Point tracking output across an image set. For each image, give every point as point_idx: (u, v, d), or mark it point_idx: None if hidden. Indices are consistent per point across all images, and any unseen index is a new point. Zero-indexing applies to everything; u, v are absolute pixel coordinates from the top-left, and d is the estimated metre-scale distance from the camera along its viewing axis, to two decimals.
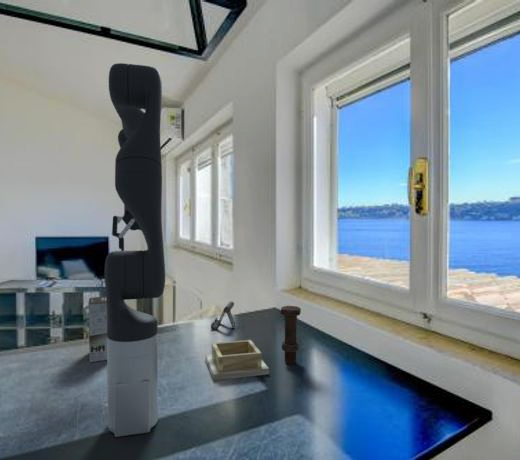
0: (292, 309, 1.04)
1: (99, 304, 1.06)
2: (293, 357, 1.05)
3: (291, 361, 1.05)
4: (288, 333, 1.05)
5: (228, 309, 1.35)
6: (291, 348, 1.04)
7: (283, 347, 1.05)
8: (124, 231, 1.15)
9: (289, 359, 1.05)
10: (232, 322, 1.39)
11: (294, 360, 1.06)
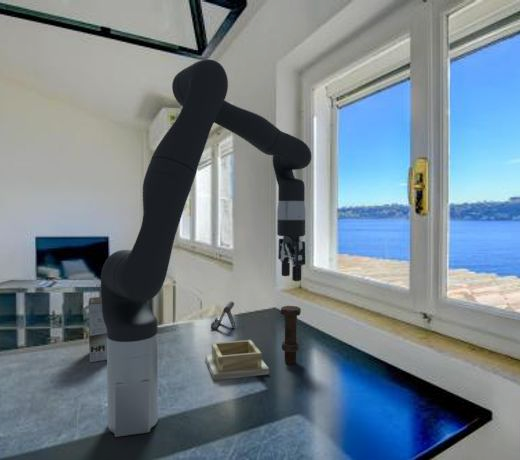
0: (292, 309, 1.04)
1: (99, 304, 1.06)
2: (293, 357, 1.05)
3: (291, 361, 1.05)
4: (288, 333, 1.05)
5: (228, 309, 1.35)
6: (291, 348, 1.04)
7: (283, 347, 1.05)
8: None
9: (289, 359, 1.05)
10: (232, 322, 1.39)
11: (294, 360, 1.06)
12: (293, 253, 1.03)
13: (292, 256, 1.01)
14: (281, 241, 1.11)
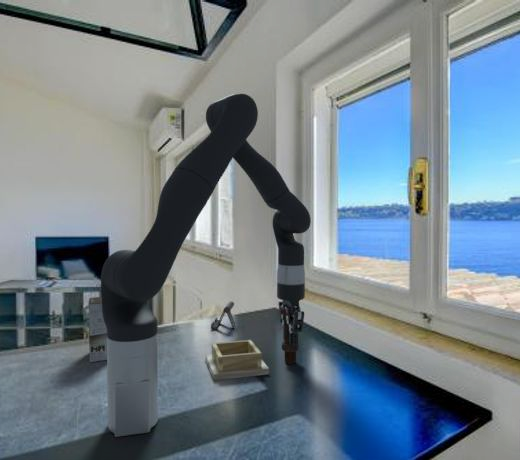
0: None
1: (99, 304, 1.06)
2: (293, 357, 1.05)
3: (291, 361, 1.05)
4: (288, 333, 1.05)
5: (228, 309, 1.35)
6: (291, 348, 1.04)
7: (283, 347, 1.05)
8: None
9: (289, 359, 1.05)
10: (232, 322, 1.39)
11: (294, 360, 1.06)
12: None
13: (290, 322, 1.03)
14: (281, 304, 1.11)
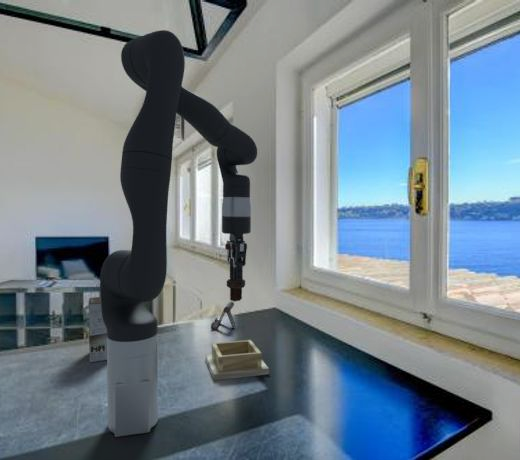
0: None
1: (99, 304, 1.06)
2: (238, 294, 1.01)
3: (236, 298, 1.01)
4: (233, 269, 1.01)
5: (228, 309, 1.35)
6: (235, 284, 1.00)
7: (228, 284, 1.01)
8: (243, 258, 1.00)
9: (234, 296, 1.01)
10: (232, 322, 1.39)
11: (239, 297, 1.02)
12: (236, 252, 1.00)
13: (234, 257, 0.99)
14: None
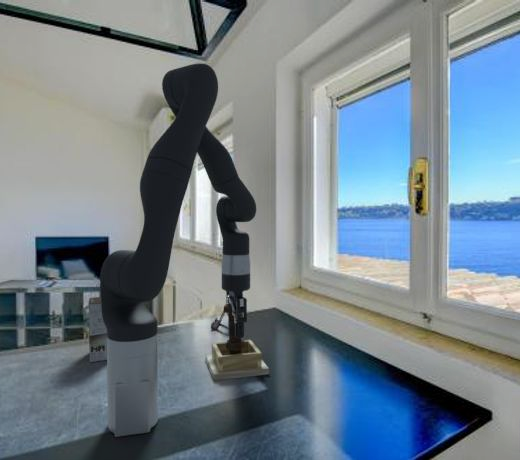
0: None
1: (99, 304, 1.07)
2: None
3: None
4: (232, 331, 1.01)
5: None
6: (234, 346, 1.01)
7: (227, 345, 1.02)
8: (244, 313, 1.00)
9: None
10: None
11: None
12: None
13: (235, 312, 0.99)
14: (228, 292, 1.08)
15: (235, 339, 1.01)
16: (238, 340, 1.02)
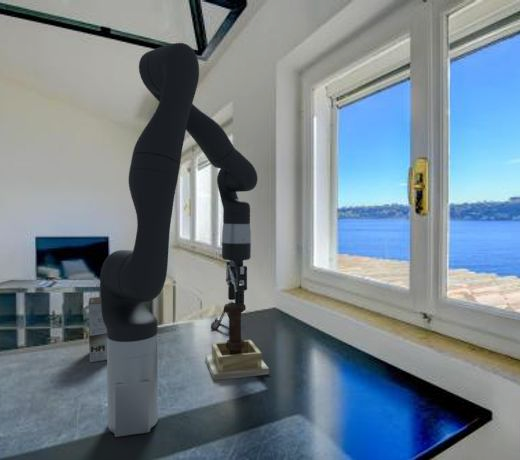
0: (235, 306, 1.01)
1: (99, 304, 1.06)
2: None
3: None
4: (232, 331, 1.02)
5: None
6: (234, 346, 1.01)
7: (227, 345, 1.02)
8: None
9: None
10: None
11: None
12: None
13: (235, 281, 0.98)
14: (228, 264, 1.08)
15: (235, 339, 1.02)
16: (238, 340, 1.02)
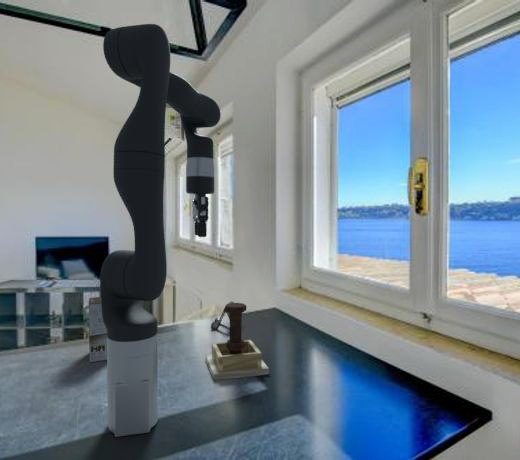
0: (236, 306, 1.01)
1: (99, 304, 1.07)
2: None
3: None
4: (233, 331, 1.02)
5: None
6: (235, 346, 1.01)
7: (227, 345, 1.02)
8: None
9: None
10: None
11: None
12: None
13: (197, 212, 1.02)
14: None
15: (235, 339, 1.02)
16: (238, 340, 1.02)
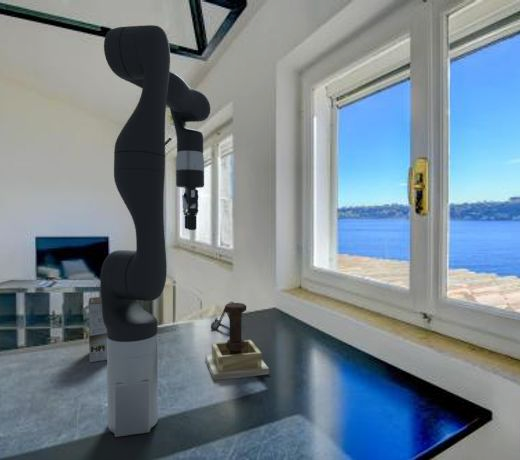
0: (236, 306, 1.01)
1: (99, 304, 1.06)
2: None
3: None
4: (232, 331, 1.01)
5: None
6: (235, 346, 1.01)
7: (227, 345, 1.02)
8: None
9: None
10: None
11: None
12: (190, 203, 1.04)
13: (187, 205, 1.02)
14: None
15: (235, 339, 1.02)
16: (238, 340, 1.02)
